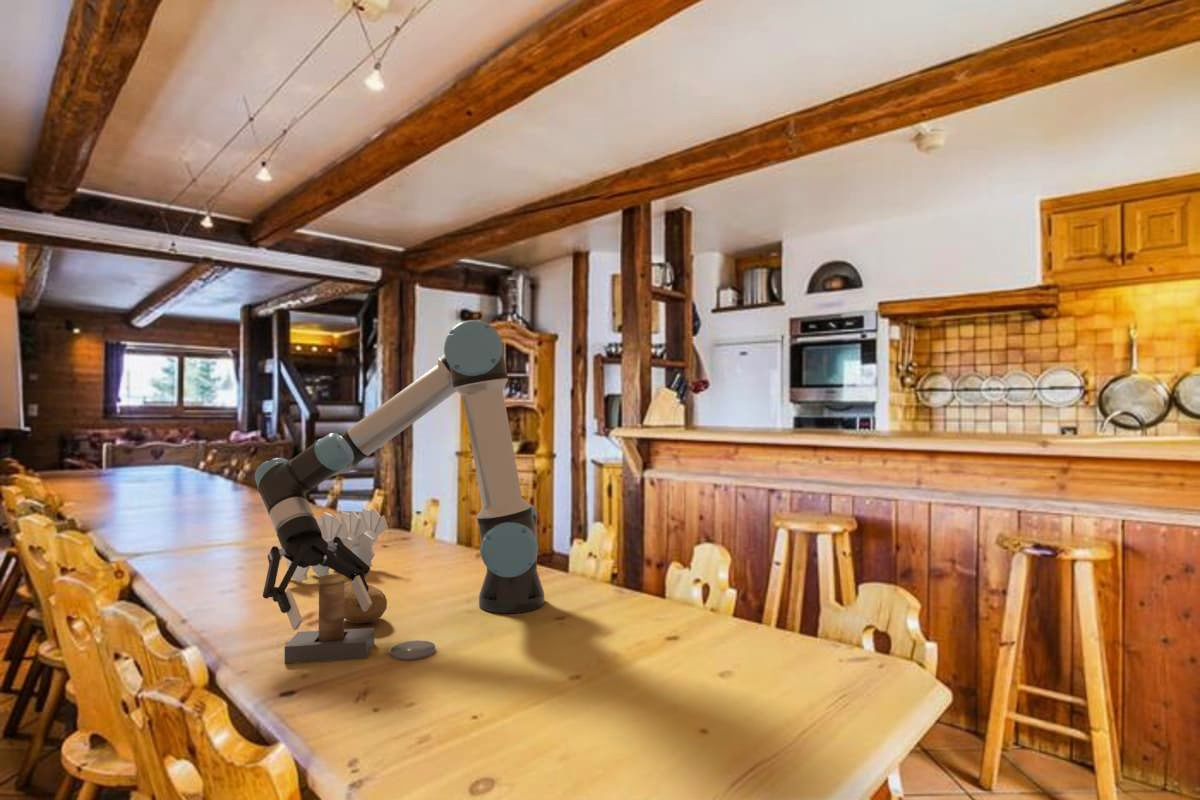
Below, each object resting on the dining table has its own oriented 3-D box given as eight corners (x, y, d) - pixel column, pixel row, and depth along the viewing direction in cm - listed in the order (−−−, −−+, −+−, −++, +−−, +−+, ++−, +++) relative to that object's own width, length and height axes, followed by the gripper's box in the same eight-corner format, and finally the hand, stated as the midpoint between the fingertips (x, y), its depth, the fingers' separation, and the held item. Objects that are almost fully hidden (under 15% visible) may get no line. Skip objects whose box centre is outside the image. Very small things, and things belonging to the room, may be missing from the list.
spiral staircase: (281, 597, 173) (367, 574, 193) (310, 578, 163) (397, 555, 183) (265, 531, 178) (350, 515, 198) (292, 509, 168) (379, 494, 187)
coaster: (436, 643, 127) (436, 639, 127) (432, 658, 119) (432, 654, 119) (394, 645, 126) (394, 641, 126) (387, 661, 118) (387, 657, 118)
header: (374, 643, 127) (374, 627, 127) (366, 658, 119) (366, 642, 119) (297, 647, 125) (297, 631, 125) (284, 663, 117) (284, 646, 117)
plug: (346, 648, 125) (347, 573, 125) (341, 657, 120) (341, 579, 120) (321, 649, 124) (322, 574, 124) (314, 658, 119) (315, 580, 120)
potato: (355, 635, 132) (355, 595, 132) (325, 620, 142) (325, 583, 142) (399, 624, 139) (399, 586, 139) (367, 610, 149) (368, 574, 149)
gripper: (346, 528, 142) (385, 611, 132) (223, 547, 123) (258, 646, 113) (360, 506, 139) (401, 589, 129) (235, 522, 120) (272, 621, 110)
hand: (334, 616), depth 121 cm, fingers open, 13 cm apart
